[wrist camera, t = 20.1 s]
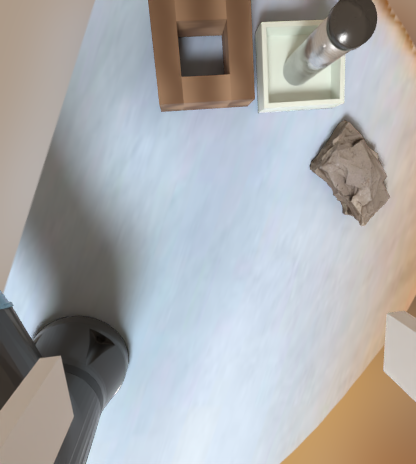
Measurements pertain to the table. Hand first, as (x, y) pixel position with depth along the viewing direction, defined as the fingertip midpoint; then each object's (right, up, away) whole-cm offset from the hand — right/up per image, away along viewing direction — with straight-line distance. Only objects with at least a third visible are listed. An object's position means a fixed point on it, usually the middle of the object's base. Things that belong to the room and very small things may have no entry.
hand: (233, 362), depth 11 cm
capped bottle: (+11, +27, +27) cm, 40 cm away
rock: (+20, +14, +32) cm, 40 cm away
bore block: (-2, +28, +26) cm, 39 cm away
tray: (+11, +28, +28) cm, 41 cm away
